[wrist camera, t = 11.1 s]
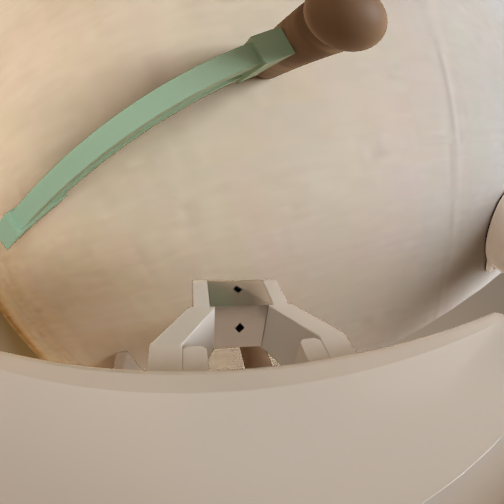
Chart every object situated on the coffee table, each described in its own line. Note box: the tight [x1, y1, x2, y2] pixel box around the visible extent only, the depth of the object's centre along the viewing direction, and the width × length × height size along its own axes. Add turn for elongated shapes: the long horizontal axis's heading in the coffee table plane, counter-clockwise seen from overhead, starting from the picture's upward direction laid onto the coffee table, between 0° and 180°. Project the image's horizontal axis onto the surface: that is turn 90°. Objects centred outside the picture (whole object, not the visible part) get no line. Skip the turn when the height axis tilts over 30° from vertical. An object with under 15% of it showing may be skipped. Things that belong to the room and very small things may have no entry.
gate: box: [0, 27, 295, 250], centre depth 14 cm, size 2×19×8 cm, turn 117°
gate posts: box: [240, 0, 388, 369], centre depth 16 cm, size 3×25×14 cm, turn 174°
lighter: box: [113, 351, 142, 370], centre depth 26 cm, size 7×2×8 cm, turn 15°
